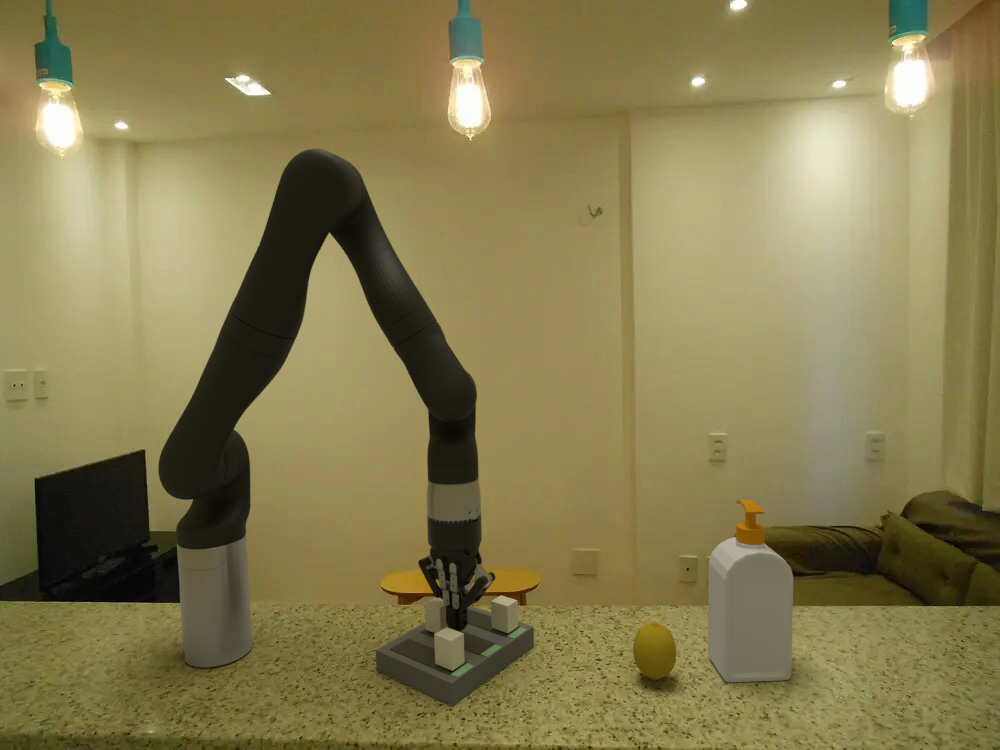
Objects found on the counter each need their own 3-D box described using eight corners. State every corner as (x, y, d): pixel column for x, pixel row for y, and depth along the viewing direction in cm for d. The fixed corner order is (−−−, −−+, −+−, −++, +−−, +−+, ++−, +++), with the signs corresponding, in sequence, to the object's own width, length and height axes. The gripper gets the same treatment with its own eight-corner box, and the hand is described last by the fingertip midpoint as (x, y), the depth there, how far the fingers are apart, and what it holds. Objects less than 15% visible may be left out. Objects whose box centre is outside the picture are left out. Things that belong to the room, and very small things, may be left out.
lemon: (677, 693, 83) (677, 633, 82) (633, 689, 84) (633, 630, 83) (674, 670, 88) (674, 613, 87) (633, 666, 89) (633, 611, 88)
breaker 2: (491, 627, 94) (491, 601, 94) (501, 621, 96) (501, 595, 96) (508, 633, 93) (507, 606, 92) (518, 626, 95) (517, 600, 94)
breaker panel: (376, 670, 90) (375, 649, 89) (461, 620, 104) (461, 602, 104) (452, 706, 81) (451, 682, 81) (533, 646, 95) (533, 626, 95)
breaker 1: (435, 663, 85) (434, 634, 85) (447, 655, 87) (446, 627, 86) (452, 670, 83) (451, 641, 83) (464, 662, 85) (463, 633, 85)
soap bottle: (768, 653, 92) (771, 495, 90) (791, 680, 85) (795, 510, 83) (705, 655, 92) (707, 497, 90) (723, 683, 85) (725, 512, 83)
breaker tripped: (425, 629, 94) (424, 603, 94) (436, 623, 96) (435, 597, 96) (440, 635, 92) (439, 608, 92) (451, 628, 94) (451, 602, 94)
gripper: (401, 509, 91) (405, 627, 93) (473, 526, 83) (476, 655, 85) (437, 496, 97) (440, 608, 99) (508, 511, 89) (510, 632, 91)
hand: (457, 629), depth 92 cm, fingers closed
